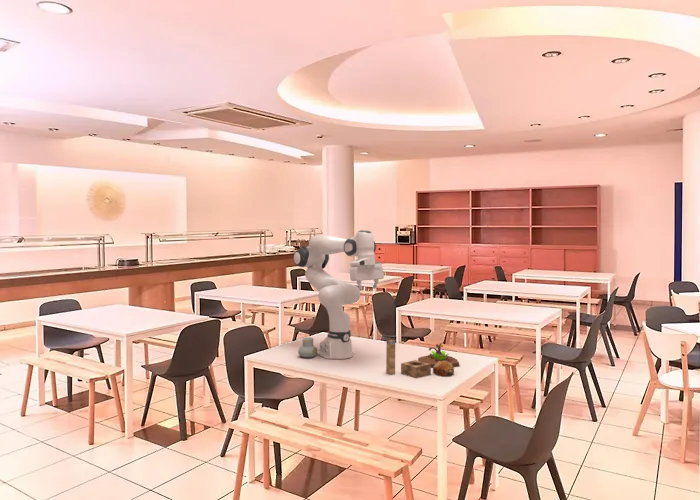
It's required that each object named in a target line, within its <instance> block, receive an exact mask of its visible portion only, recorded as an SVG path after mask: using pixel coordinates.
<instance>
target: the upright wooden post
mask: <svg viewBox="0 0 700 500" xmlns="http://www.w3.org/2000/svg"><path fill="white" fill-rule="evenodd" d="M385 342H386V345H385V346H386V348H385V349H386V351H385V353H386V358H385V359H386V360H385V363H386V367H385V372H386V373H385V374H387V375H390V376H392V375H395V374H396V340H394V339H387V340H386V341H385Z"/></svg>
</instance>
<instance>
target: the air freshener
mask: <svg viewBox="0 0 700 500" xmlns="http://www.w3.org/2000/svg"><path fill="white" fill-rule="evenodd" d="M301 343H302V345H301V346H299V348H298V350H297V354H298V355H299V356H300V357H302V358H307V359H311V358H314V357H316V355H318V354H317V350H318V347H317V346H315V345H314V338H313V337H303V338H302V342H301Z"/></svg>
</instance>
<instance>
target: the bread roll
mask: <svg viewBox="0 0 700 500" xmlns="http://www.w3.org/2000/svg"><path fill="white" fill-rule="evenodd" d="M432 372H433V374H434V375H436V376H438V377H451V376H453V375H454V373H455V367H453V365H452V364H451V363H449V362H447V361H439V362H437V363H436V364H435V365H434V367H433V368H432Z"/></svg>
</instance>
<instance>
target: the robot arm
mask: <svg viewBox="0 0 700 500" xmlns="http://www.w3.org/2000/svg"><path fill="white" fill-rule="evenodd" d="M376 250H377V243H376V242H375V240H374V235H373V233H372V231H370V230H363V229H362V230H357V232H356V233H355V235H353V236H352V237H350V238H347V239H346V238H342V237H340V236H339V237H338V236H334V235H329V234H317V235H314V236H312V237H311V238H310V240H309V242H308V246H305V245H302V247H300V248H298V249H297V250H296V251H294V254H293V258H292V259H293V263H294V265H295V266H297V267H300V268H307V269H306V270H305V273H304V276H305V279H306V280H307V282H308V283H309V284H310V285H311V286H312V287H313V288H315V289H316V290H317V292H318V296H317V297H318V300H319V303H320V304H321V305H322V306H323V307H325V310H326V312H327V314H328V320H329V330H327V331H326V332H325V333H326V334H327V335H326V337H325V338H324V339H323V340H321V342H320V343H319V347H318V348H319V349H317V354H316V355H318V356H320V357H322V358H324V359H326V360H327V359H328V360H330V359H331V360H332V359H334V360H344V359H345V360H346V359H350V358H352V357H353V355H354V351H353V348H352V347H353V346H352V339H351V334H352V333H351V329H350V328H351V326H350V324H351V323H350V322H351V320H350V319H351V318H350V315H349V314H348V313H347V312H345V311H344V309H343V306H344V305H351V304H353V303H356V302H358V301H359V300H360V298H361V290H364V286H363V285H362V281H371V280H373V282H374V284H373V285H372V289H378V284H379V281H380V280H384V277H385V273H384V267H383V263H382V262H381V261H378V260H377V261H376V254H375V252H376ZM340 253H345V255H347V256H348V257H357V258H356V259H354V260H353V261H350V262H349V266H350V268H349V278H350V281H351V282H356V284H351V283H348V282H346V281H344V280H341V279H338V278H336V277H334V276H333V275H331V274H330V273H328V272H327V271H325V270H324V269H325V268H326V266H327V265H328V263H329V260H330V255H334V254H340Z"/></svg>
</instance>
